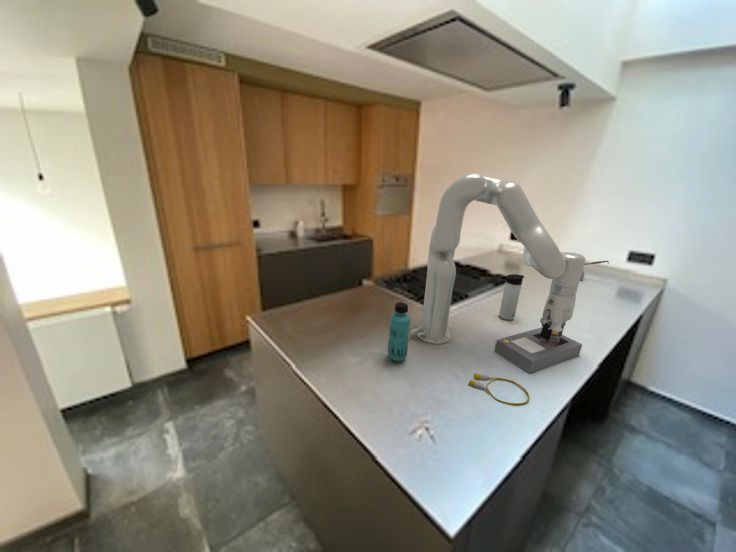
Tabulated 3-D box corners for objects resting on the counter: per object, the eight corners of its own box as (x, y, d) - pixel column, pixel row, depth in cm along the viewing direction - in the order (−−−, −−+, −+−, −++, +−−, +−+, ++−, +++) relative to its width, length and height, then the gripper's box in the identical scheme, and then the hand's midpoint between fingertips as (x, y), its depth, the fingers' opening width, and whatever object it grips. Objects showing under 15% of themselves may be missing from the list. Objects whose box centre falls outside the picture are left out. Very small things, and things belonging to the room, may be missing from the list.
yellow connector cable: (485, 369, 98) (486, 363, 98) (535, 396, 87) (537, 390, 86) (463, 383, 91) (464, 378, 90) (515, 415, 80) (517, 409, 79)
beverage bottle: (394, 351, 105) (398, 298, 99) (410, 359, 101) (416, 304, 95) (383, 359, 100) (386, 304, 94) (399, 367, 96) (404, 310, 90)
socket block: (529, 373, 96) (532, 360, 95) (494, 350, 108) (496, 338, 106) (578, 355, 107) (582, 343, 106) (542, 336, 119) (545, 325, 117)
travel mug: (516, 322, 130) (526, 278, 123) (500, 320, 131) (509, 276, 125) (512, 316, 136) (522, 273, 129) (497, 314, 137) (505, 272, 130)
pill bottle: (548, 349, 106) (555, 324, 103) (535, 341, 111) (542, 316, 108) (561, 347, 108) (568, 322, 104) (548, 339, 113) (554, 315, 110)
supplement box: (540, 265, 217) (546, 242, 212) (533, 266, 213) (538, 243, 207) (528, 261, 225) (533, 239, 220) (520, 263, 221) (525, 240, 215)
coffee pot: (559, 278, 191) (565, 254, 186) (564, 274, 199) (569, 252, 194) (600, 287, 177) (608, 262, 172) (603, 283, 185) (611, 259, 180)
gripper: (558, 296, 96) (544, 346, 102) (590, 289, 103) (576, 336, 109) (536, 288, 102) (525, 336, 108) (568, 282, 109) (555, 327, 115)
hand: (550, 335), depth 108 cm, fingers closed on pill bottle, 5 cm apart
